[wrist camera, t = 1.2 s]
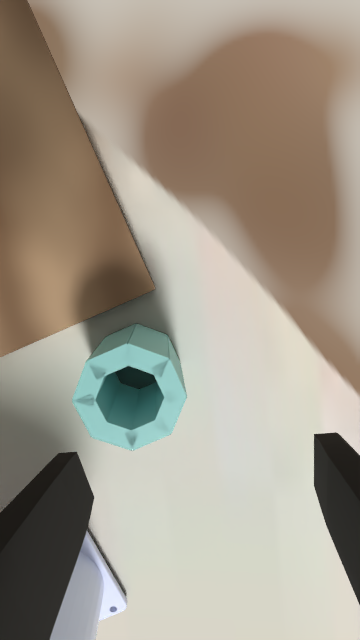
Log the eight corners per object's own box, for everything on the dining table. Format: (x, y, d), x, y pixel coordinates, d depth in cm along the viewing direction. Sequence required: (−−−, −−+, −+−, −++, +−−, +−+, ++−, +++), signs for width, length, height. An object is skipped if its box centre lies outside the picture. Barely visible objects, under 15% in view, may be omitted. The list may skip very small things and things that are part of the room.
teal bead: (118, 414, 20) (105, 462, 15) (84, 345, 19) (57, 373, 14) (189, 383, 20) (198, 422, 15) (157, 313, 19) (156, 330, 14)
